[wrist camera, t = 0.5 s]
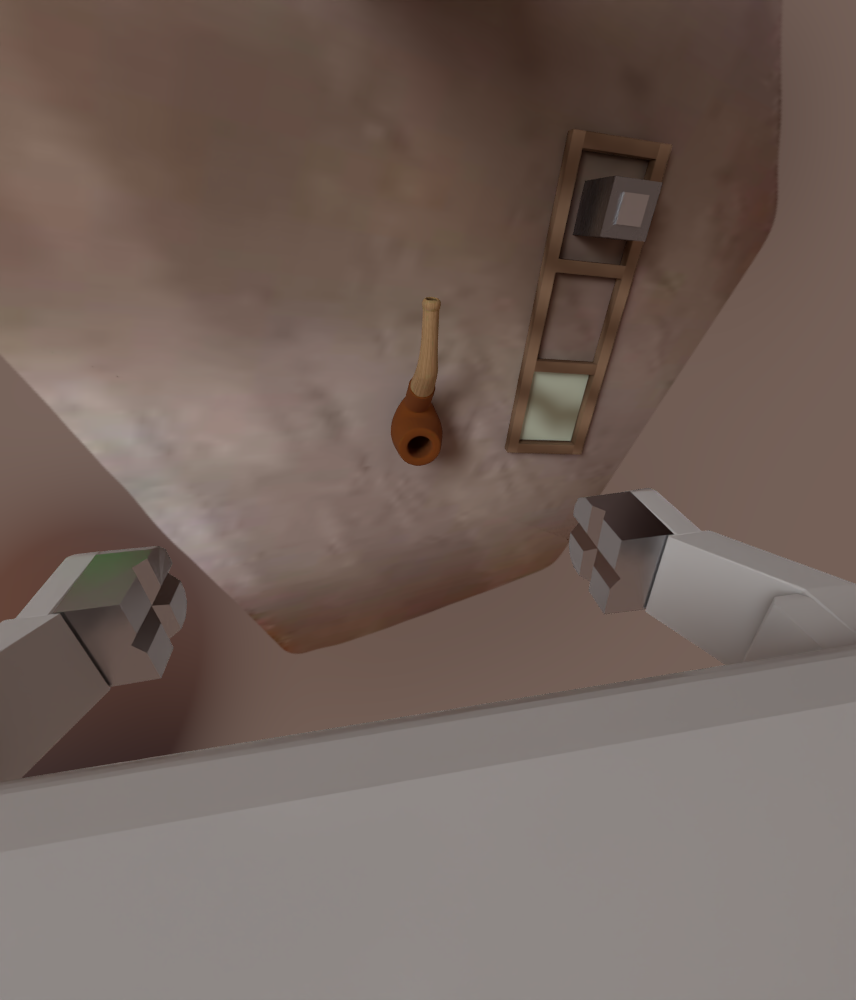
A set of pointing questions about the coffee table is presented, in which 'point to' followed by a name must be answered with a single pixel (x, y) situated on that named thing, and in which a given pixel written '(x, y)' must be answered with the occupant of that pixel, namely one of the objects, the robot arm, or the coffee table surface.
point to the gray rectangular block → (617, 208)
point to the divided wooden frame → (547, 382)
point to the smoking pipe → (421, 398)
